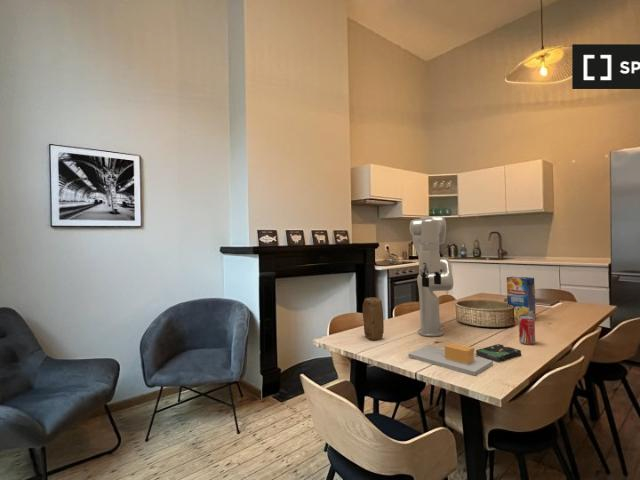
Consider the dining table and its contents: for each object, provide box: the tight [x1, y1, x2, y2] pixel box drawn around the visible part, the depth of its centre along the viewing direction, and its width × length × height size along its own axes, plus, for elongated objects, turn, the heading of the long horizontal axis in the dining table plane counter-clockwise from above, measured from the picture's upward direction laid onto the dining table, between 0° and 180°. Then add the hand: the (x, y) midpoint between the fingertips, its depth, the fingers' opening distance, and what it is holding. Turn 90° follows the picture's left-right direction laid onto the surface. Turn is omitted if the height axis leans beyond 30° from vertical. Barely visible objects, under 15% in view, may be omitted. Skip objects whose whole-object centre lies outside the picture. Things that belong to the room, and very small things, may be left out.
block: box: [362, 296, 385, 341], centre depth 172 cm, size 11×8×20 cm
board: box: [407, 344, 494, 377], centre depth 137 cm, size 15×28×2 cm, turn 41°
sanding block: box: [444, 342, 475, 365], centre depth 134 cm, size 6×9×5 cm, turn 41°
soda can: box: [518, 316, 536, 346], centre depth 155 cm, size 6×6×12 cm
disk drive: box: [475, 343, 522, 363], centre depth 141 cm, size 10×3×15 cm
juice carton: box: [506, 275, 537, 321], centre depth 199 cm, size 12×8×24 cm, turn 30°
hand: (431, 285), depth 152 cm, fingers open, 9 cm apart
